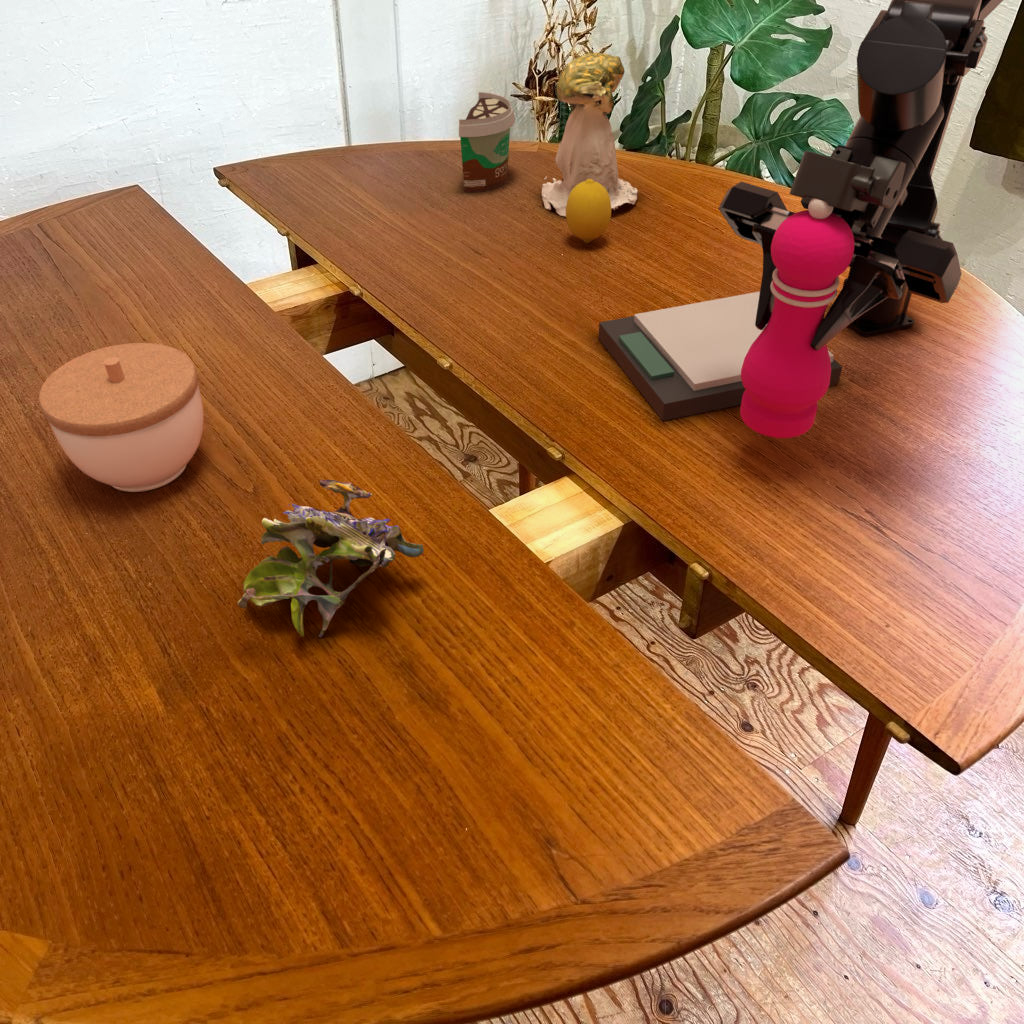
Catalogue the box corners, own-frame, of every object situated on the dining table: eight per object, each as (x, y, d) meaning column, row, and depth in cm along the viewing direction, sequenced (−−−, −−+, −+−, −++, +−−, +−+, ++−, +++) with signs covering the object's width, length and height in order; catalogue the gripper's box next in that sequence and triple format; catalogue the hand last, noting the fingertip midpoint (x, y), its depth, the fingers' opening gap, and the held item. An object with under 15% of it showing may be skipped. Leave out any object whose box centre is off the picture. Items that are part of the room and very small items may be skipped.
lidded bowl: (67, 445, 89) (26, 341, 81) (205, 413, 92) (177, 310, 85) (78, 528, 80) (33, 419, 73) (230, 489, 83) (201, 381, 76)
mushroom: (652, 211, 126) (665, 63, 114) (560, 225, 123) (564, 74, 111) (617, 178, 134) (626, 37, 123) (530, 190, 132) (531, 46, 120)
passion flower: (365, 613, 79) (444, 514, 74) (331, 701, 70) (418, 595, 65) (246, 541, 77) (318, 433, 71) (194, 622, 68) (272, 505, 62)
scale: (757, 308, 106) (761, 285, 104) (838, 384, 95) (844, 359, 93) (598, 338, 102) (599, 315, 100) (662, 421, 90) (665, 396, 88)
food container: (505, 199, 130) (504, 123, 123) (461, 196, 131) (458, 120, 124) (523, 165, 139) (523, 93, 132) (481, 162, 140) (479, 90, 133)
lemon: (617, 238, 120) (621, 175, 115) (596, 256, 116) (599, 191, 111) (578, 229, 122) (580, 167, 117) (556, 245, 119) (557, 182, 114)
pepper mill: (732, 437, 81) (772, 213, 67) (735, 388, 86) (772, 170, 72) (821, 447, 80) (879, 221, 66) (818, 396, 85) (871, 177, 71)
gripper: (747, 77, 73) (652, 264, 74) (994, 132, 63) (880, 346, 65) (782, 149, 82) (697, 313, 84) (1001, 207, 73) (902, 391, 74)
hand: (785, 338), depth 76 cm, fingers closed on pepper mill, 4 cm apart
